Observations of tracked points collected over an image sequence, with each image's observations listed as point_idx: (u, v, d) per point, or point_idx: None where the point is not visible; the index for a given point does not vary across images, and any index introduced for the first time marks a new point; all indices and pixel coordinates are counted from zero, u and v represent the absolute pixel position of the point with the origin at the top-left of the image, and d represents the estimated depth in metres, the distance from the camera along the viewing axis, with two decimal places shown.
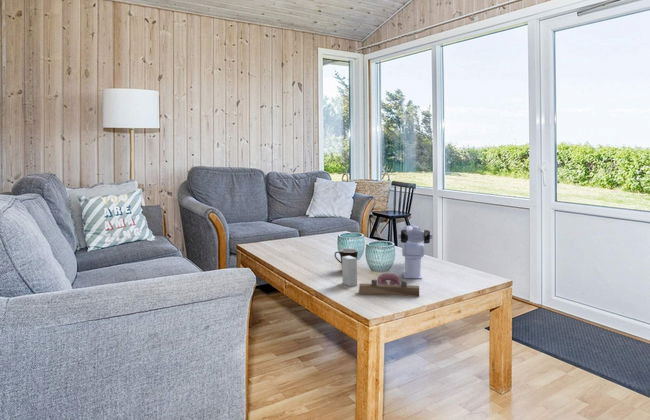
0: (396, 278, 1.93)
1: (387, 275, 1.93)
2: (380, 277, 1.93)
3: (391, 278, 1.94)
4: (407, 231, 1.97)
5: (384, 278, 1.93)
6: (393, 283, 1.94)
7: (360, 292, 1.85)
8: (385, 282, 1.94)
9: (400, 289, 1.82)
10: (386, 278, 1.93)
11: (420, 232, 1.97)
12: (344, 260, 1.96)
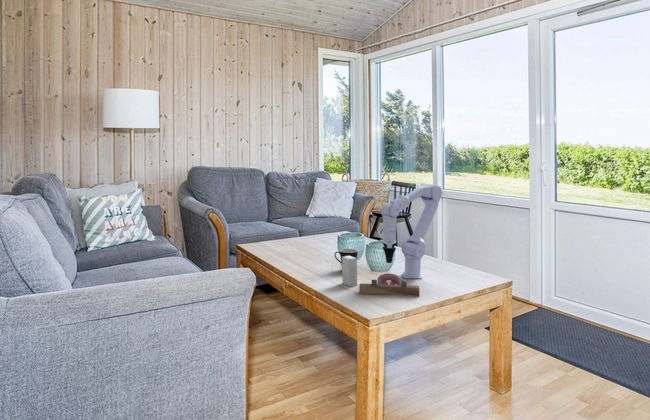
0: (396, 278, 1.93)
1: (387, 275, 1.93)
2: (380, 277, 1.93)
3: (391, 278, 1.93)
4: None
5: (384, 278, 1.93)
6: (393, 283, 1.94)
7: (360, 292, 1.85)
8: (385, 282, 1.94)
9: (400, 289, 1.82)
10: (386, 278, 1.93)
11: None
12: (344, 260, 1.96)
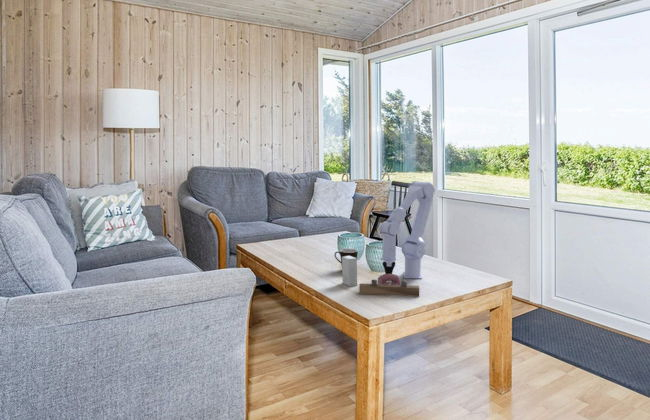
0: (396, 278, 1.93)
1: (387, 275, 1.93)
2: (380, 278, 1.93)
3: (391, 278, 1.93)
4: None
5: (384, 279, 1.93)
6: (393, 284, 1.93)
7: (360, 292, 1.85)
8: (385, 283, 1.93)
9: (400, 289, 1.82)
10: (386, 279, 1.93)
11: None
12: (344, 260, 1.96)
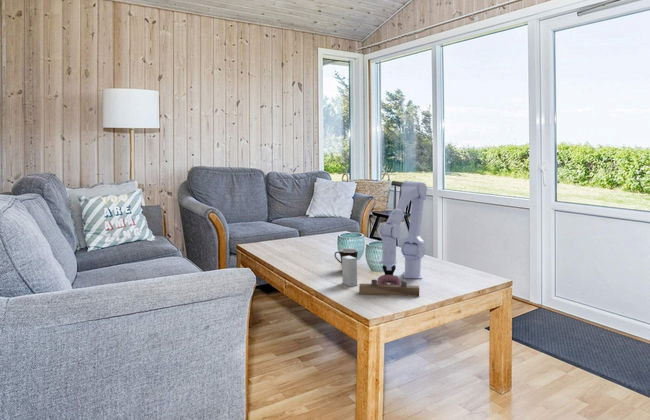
0: (396, 280, 1.91)
1: (387, 276, 1.91)
2: (380, 278, 1.91)
3: (391, 279, 1.91)
4: None
5: (384, 279, 1.91)
6: None
7: (360, 292, 1.85)
8: (385, 283, 1.92)
9: (400, 289, 1.82)
10: (386, 279, 1.91)
11: None
12: (344, 260, 1.96)
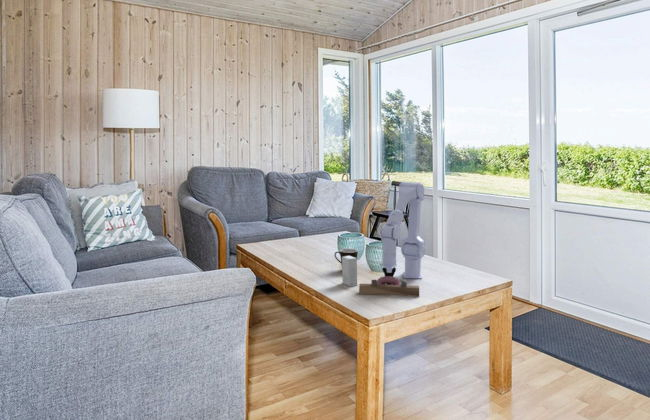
0: (396, 281, 1.88)
1: (387, 278, 1.89)
2: (379, 280, 1.89)
3: (391, 281, 1.88)
4: None
5: (383, 281, 1.89)
6: None
7: (360, 292, 1.85)
8: None
9: (400, 289, 1.82)
10: (385, 281, 1.89)
11: None
12: (344, 260, 1.96)
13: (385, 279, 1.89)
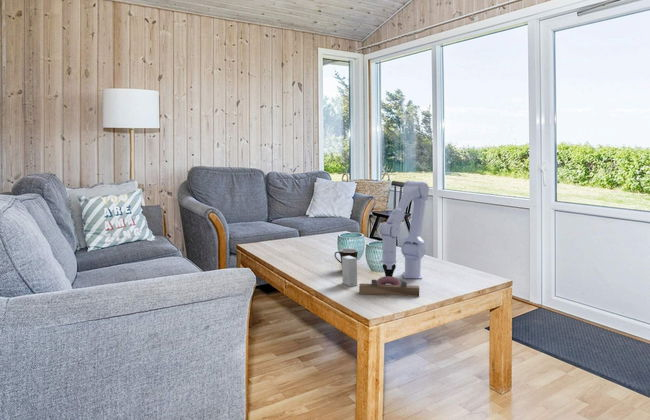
0: (396, 282, 1.88)
1: (387, 278, 1.89)
2: (379, 280, 1.89)
3: (391, 281, 1.89)
4: None
5: (383, 281, 1.89)
6: None
7: (360, 292, 1.85)
8: None
9: (400, 289, 1.82)
10: (385, 281, 1.89)
11: None
12: (344, 260, 1.96)
13: (385, 279, 1.89)
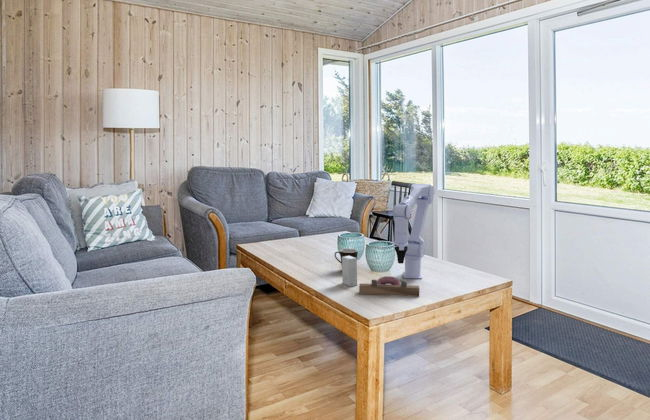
0: (396, 282, 1.88)
1: (387, 278, 1.89)
2: (379, 280, 1.89)
3: (391, 282, 1.89)
4: None
5: (383, 281, 1.89)
6: None
7: (360, 292, 1.85)
8: None
9: (400, 289, 1.82)
10: (386, 281, 1.89)
11: None
12: (344, 260, 1.96)
13: (385, 279, 1.89)
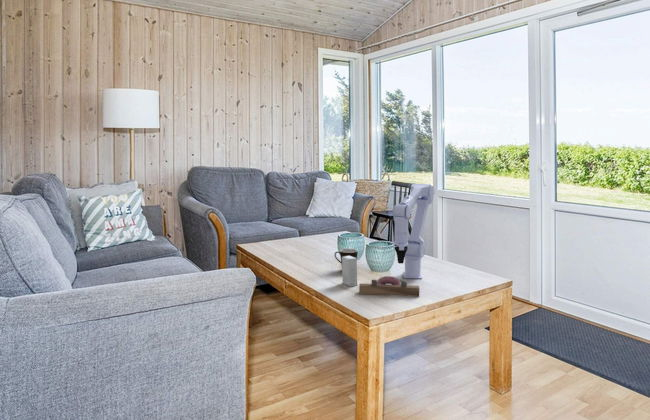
0: (396, 282, 1.88)
1: (387, 278, 1.89)
2: (379, 280, 1.89)
3: (391, 281, 1.89)
4: None
5: (384, 281, 1.89)
6: None
7: (360, 292, 1.85)
8: None
9: (400, 289, 1.82)
10: (386, 281, 1.89)
11: None
12: (344, 260, 1.96)
13: (385, 279, 1.89)
